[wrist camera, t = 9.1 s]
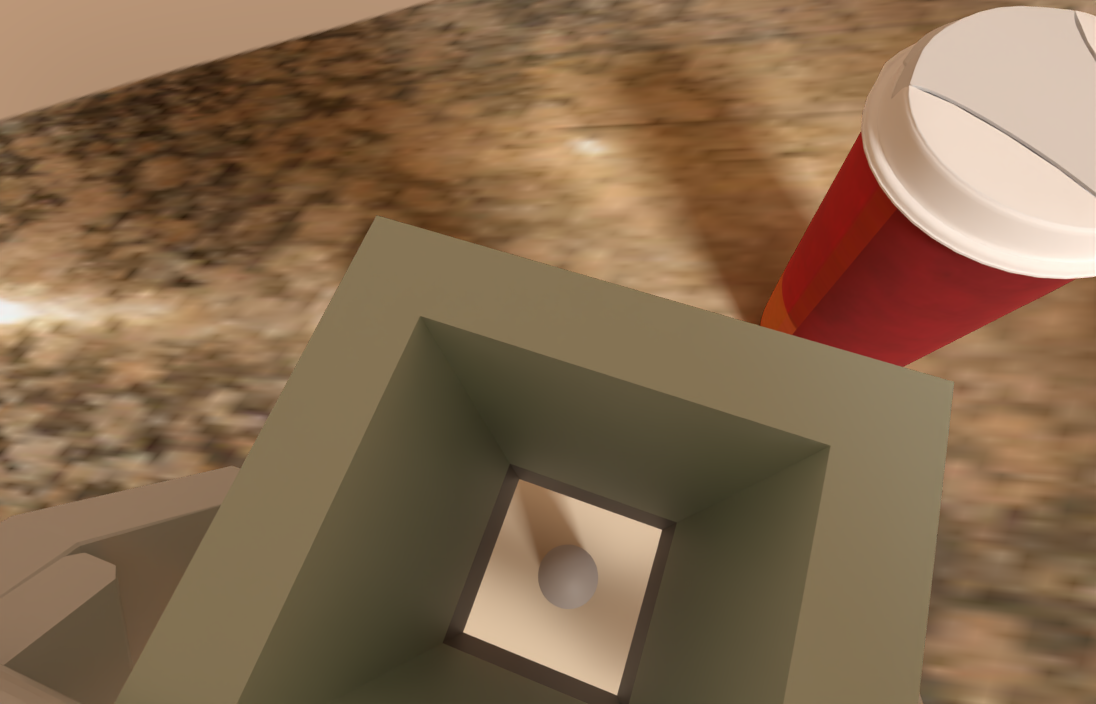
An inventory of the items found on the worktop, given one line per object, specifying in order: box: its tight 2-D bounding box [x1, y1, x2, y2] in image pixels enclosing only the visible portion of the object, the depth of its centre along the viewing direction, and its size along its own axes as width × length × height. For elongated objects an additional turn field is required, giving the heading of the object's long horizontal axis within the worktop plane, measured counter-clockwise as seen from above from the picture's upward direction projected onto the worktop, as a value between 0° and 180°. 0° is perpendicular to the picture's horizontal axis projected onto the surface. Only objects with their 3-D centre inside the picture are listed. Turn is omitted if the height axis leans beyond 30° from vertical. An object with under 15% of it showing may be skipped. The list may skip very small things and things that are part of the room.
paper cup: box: [760, 6, 1096, 367], centre depth 20 cm, size 8×8×14 cm
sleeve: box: [114, 215, 954, 704], centre depth 8 cm, size 5×5×9 cm
